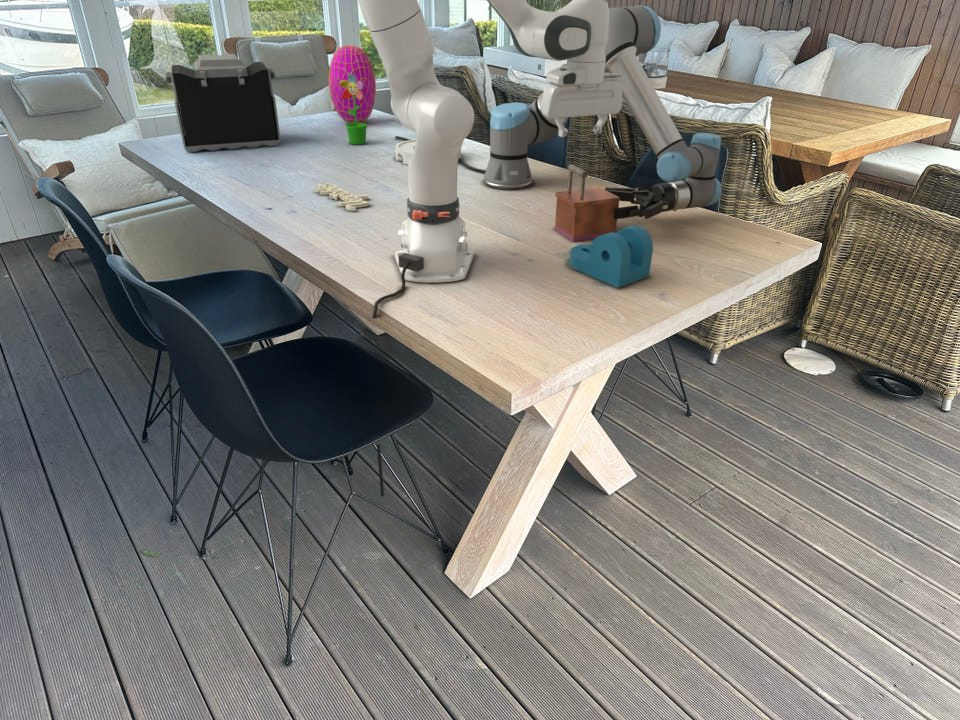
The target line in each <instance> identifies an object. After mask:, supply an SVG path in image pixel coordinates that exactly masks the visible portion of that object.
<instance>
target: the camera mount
mask: <svg viewBox="0 0 960 720" xmlns="http://www.w3.org/2000/svg"><path fill="white" fill-rule="evenodd" d="M652 239H653V238H652V237H651V235H650V234H649V232H648V230H646V229H645V228H644V227H643V226H640V225H636V224H635V225H630V226H627V227H624V228H621V229H619V230H617V231H616V233H613V232H612V233H608V234H604V235H601V236H598V237H597V238H594V239H593V241H592V243H584V244H578V245H575V246H573V247H571V248H570V250H569V261H568V265H569V266H570V267H571V268H572V269H574V270H576V271H578V272H580V273H582V274H585V275H587V276H589V277H592V278H594V279H596V280H599V281H601V282H603V283H606V284H608V285H610V286H613V287H615V288H616V289H617V288H618V289H620V288H622V287H625V286H627V285H630V284H632V283H635V282H637V281H641V280H642V279H645V278H648V277H650V274H651V273H650V272H651V266H652V259H653V258H652V257H653V252H654V243H653V240H652Z"/></svg>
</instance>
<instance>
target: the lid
mask: <svg viewBox="0 0 960 720" xmlns="http://www.w3.org/2000/svg"><path fill="white" fill-rule="evenodd" d="M567 171H569V172H568V181H567V182H568V183H567V190H563V191H555V194H554V195H555V197H556V198H557V197H558V198H559V199H561V200H563V201H564V202H566V203H568V204H569V205H571V206H573V207H580V206H588V205H596V204H603V203H611V202H619V203H620V201H619V200H620V197H618V196H616V195H614V194H612V193H610V192H608V191H606V190H605V188H602V187H600V186H595V187H588V188H585V187H586V186H585V185H586V178H588V175H589V174H588V172H587V171H586V170H584V169H583V168H580V167H578V166H576V165H574V164H569V165H568V166H567ZM574 175H577V177H580V178H581V179H580V180H581V182H580V188H579V189H573V177H574Z"/></svg>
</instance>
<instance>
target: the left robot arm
mask: <svg viewBox="0 0 960 720" xmlns="http://www.w3.org/2000/svg"><path fill="white" fill-rule="evenodd" d="M486 1H487V3H488V4H489V5H490V6H491V8H492V9H493V10H494V12H495V13H496V14H497V15H498V16H499V18H500V19H501V20H502V21H503V23H504V24H505V26H506V27H507V29H508V31H509V34H510V36H511V39H512V42H513V45H514V46H515V48H516V50H517V51H518V52H519V54H521V55H523V56H525V57H529V58H541V59H544V60H550V61H554V62H561V61H565V60H566V63H565V64H563V65H561V66H559V67H557V68H555V69H552V70H549V71H548V72H547V73H546V76H545V77H546V81H547V82H548V83H547V84H546V85H545V87H543V88H544V89H543V92H542V93H543V98H542V113H543V115H544V116H545V117H547V118H550V119H552V118H555V122H556V124H557V126H558V128H559V136H558V137H560V138H566V137H568V133H569V130H568V128H566V127H564V126H563V123H562V122H564V121H565V118H566V117H568V118H577V117H590V116H597V119H598V121H597V122H596V124H595V125H592V134H594V135H600V134H602V130H603V127H604V125H605V123H606V122H607V120H608V115H617V114H619V113H620V111H621V110H622V108H623V96H622V83H623V78H622V76H621V75H620V74H618V72H613V73H604V72H605V62H606V56H605V46H606V43H607V40H608V31H609V9H610V8H609V4H608V1H607V0H571V1H570V2H568V3H567V4H566V5H564V6H562V7H561V8H559V9H556V10H555V11H549V10H542V9H539V8H536V7H534V6H532V5H530V4H529V3H528V2H527V1H526V0H486ZM358 4H359V8H360V10H361V13H362V16H363V19H364V22H365V24H366V27H367V29H368V31H369V34H370V37H371V39H372V41H373V44H374V46H375V48H376V50H377V53H378V56H379V58H380V61H381V63H382V65H383V67H384V71H385V74H386V78H387V82H388V87H389V92H390V96H391V98H390V106H391V111H392V114H393V115H394V116H395V118H396V119H397V120H398V121H399V123H400V124H401V125H402V126H403V127H405V128H406V129H407V130H410V131H412V132H414V133H415V139H416V145H415V150H414V154H413V157H412V159H411V160H410V161H409V163H408V164H407V184H408V186H407V187H408V198H407V199H406V211H407V213H406V214H407V217H406V218H405V219H404V220H403V221H402V223H401V230H399V231H398V235H402V242H401V244H400V247H401V249H400V250H397V251H395V252H394V259H395V262H396V264H397V267H398V269H399V272H400V274H401V275H400V276H401V277H400V278H401V287H400V289H398V290H397V291H395V292H393V293H389V294H386V295H384V296H381V297H380V298H378V299H377V300H376V301H375V302H374V305H373V312H372V316H371V318H372V319H373V320H375V319H376V318H377V313H378V309H379V304H381V303H382V302H383V301H385V300H387V299H391V298H394V297H397V296H399V295H400V294H402V293H403V292H404V291H405V288H406V281H408V282H414V283H431V284H433V283H435V284H437V283H451V282H457V281H461V280H464V279H466V277H467V274H468V273H469V269H470V267H471V265H472V262H473V260H474V257H475V251H473V250H471V249H468V245H469V243H468V242H467V241H466V238H467V236H468V232H467V231H466V221H465V220H464V219H463V218H461V216H460V208H461V207H460V206H461V205H460V198H459V197H458V167H459V166H458V165H459V161H458V159H459V154H460V150H461V151H462V147H463V143H464V140H465V139H466V138H467V137H468V136H469V135H470V133H471V131H472V130H473V127H474V123H475V111H474V108H473V106H472V104H471V103H470V101H469V100H468V99H467V98H466V97H465V96H464V95H462V94H461V93H460V92H459V91H458V90H456V89H455V88H451V87H448V86H445V85H442V84H441V83H440V81H439V80H438V78H437V74H436V72H435V63H434V53H435V43H434V41H433V38H432V36H431V33H430V30H429V28H428V27H429V26H428V25H427V22H426V19H425V17H424V14H423V11H422V9H421V6H420V3H419V1H418V0H358ZM618 76H619V77H618ZM381 452H382V451H381V443H378V444H376V453H377V462H378V463H377V465H378V475H379V487H380V497H384V496H385V490H384V476H383V465H382V464H383V463H382V453H381Z"/></svg>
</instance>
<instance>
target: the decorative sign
mask: <svg viewBox="0 0 960 720" xmlns="http://www.w3.org/2000/svg"><path fill="white" fill-rule="evenodd" d="M317 186H318V187H316V188H315V192H316V193H319V194H320V196H321V195H322V196H323V195H324V196H326V195H327V196H328V195H329V198H330V199H332V200H333V199H334V200H335V201H338V200H341V201H339V202H338V205H339V207H345V210H346V211H350V212H356V211H357V209H358V208H364V207H365V208H366V207H368V206H369V201H367V200H369V195H368V194H353V193H350V192H349V191H348V190H345V189H344V188H343V189H342V187H339V186H338V185H336V184H333V183H332V182H325V183H324V184H322V183H319V184H317Z"/></svg>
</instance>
